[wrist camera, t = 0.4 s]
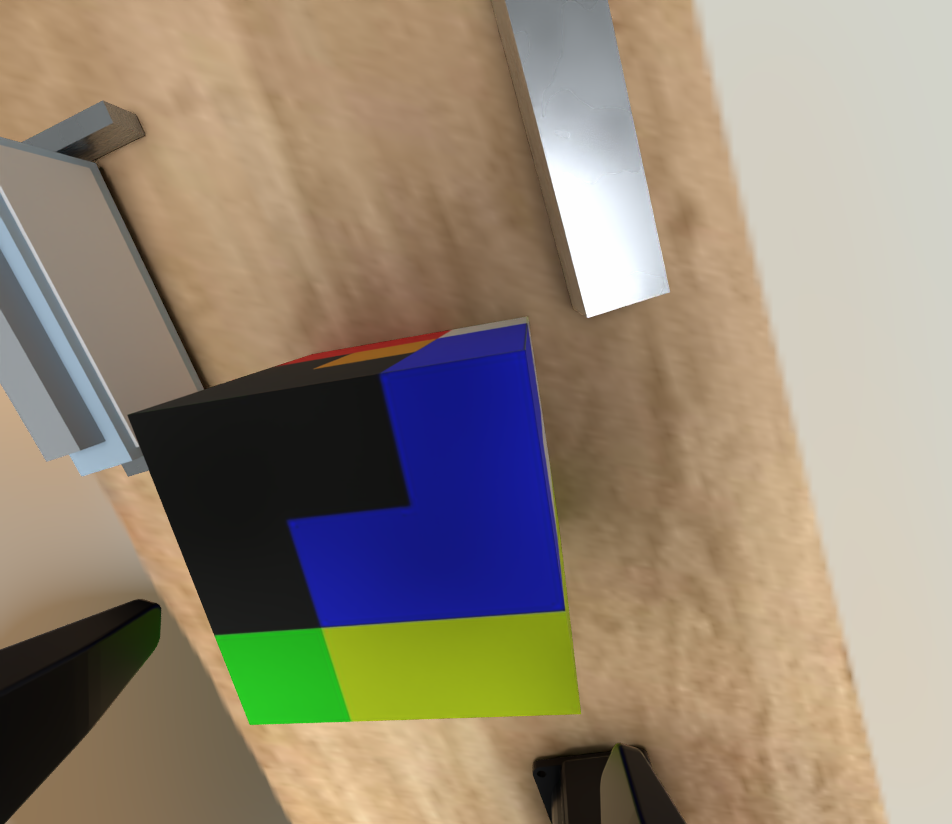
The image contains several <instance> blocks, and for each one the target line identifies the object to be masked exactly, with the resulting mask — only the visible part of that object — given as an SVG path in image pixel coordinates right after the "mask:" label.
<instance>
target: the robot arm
mask: <svg viewBox="0 0 952 824" xmlns="http://www.w3.org/2000/svg"><path fill="white" fill-rule="evenodd" d="M160 626H161V607H160V605H158V604H157V603H154V602H150V601H147V600H144V599H137V600H133V601H130V602H128V603H125V604H122V605H119V606H117V607H114V608H111V609H109V610H106V611H103V612H101V613H98V614H95V615H92V616H90V617H87V618H85V619H82V620H79V621H76V622H74V623H71V624H68V625H66V626H63V627H60V628H57V629H55V630H52V631H49V632H47V633H44V634H41V635H39V636H36V637H33V638H30V639H28V640H25V641H22V642H19V643H17V644H14V645H11V646H9V647H6V648H3V649H1V650H0V824H5V823H6V822H7V821H8V820H9V818H10V817H11V816H12V815H13V814H14V813H15V812H16V811H17V810H18V809H19V808H20V807H21V806H22V804H23V803H24V802H25V801H26V800H27V799H28V798H29V797H30V796H31V795H32V794H33V792H34V791H35V790H36V789H37V788H38V787H39V786H40V785H41V784H42V783H43V782H44V781H45V780H46V779H47V777H48V776H49V775H50V774H51V773H52V772H53V771H54V770H55V769H56V768H57V767H58V765H59V764H60V763H61V762H62V761H63V760H64V759H65V758H66V757H67V756H68V755H69V754H70V753H71V751H72V750H73V749H74V748H75V747H76V746H77V745H78V744H79V743H80V742H81V741H82V739H83V738H84V737H85V736H86V735H87V734H88V733H89V731H90V730H91V729H92V728H93V727H94V726H95V724H96V723H97V722H98V721H99V720H100V718H101V717H102V716H103V715H104V713H105V712H106V711H107V709H108V708H109V707H110V706H111V704H112V703H113V702H114V701H115V699H116V698H117V697H118V695H119V694H120V693H121V692H122V691H123V689H124V688H125V687H126V685H127V684H128V683H129V682H130V680H131V679H132V678H133V677H134V675H135V674H136V673H137V672H138V670H139V669H140V668H141V667H142V665H143V664H144V662H145V661H146V660H147V659H148V658H149V656H150V655H151V654H152V653H153V651H154V650H155V648H156V647H157V644H158V642H159V639H160ZM533 776H534V779H535V782H536V784H537V787H538V789H539V792H540V795H541V797H542V800H543V803H544V805H545V808H546V810H547V813H548V816H549V818H550V821H551V824H686V822H685V820H684V819H683V817H682V816H681V814H680V812H679V811H678V809H677V808H676V806H675V804H674V803H673V801H672V800H671V798H670V796H669V795H668V793H667V792H666V790H665V788H664V787H663V785H662V784H661V782H660V780H659V779H658V777H657V776H656V774H655V772H654V771H653V769H652V766H651V763H650V759H649V756H648V753H647V752H646V751H645V750H644V749H640V748H636V747H632V746H629V745H626V744H622V743H617V744H615V746H614V747H613V749H612V751H611V752H603V753H594V754H586V755H578V756H570V757H561V758H553V759H545V760H538V761H535V762H534V763H533Z"/></svg>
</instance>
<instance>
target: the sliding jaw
mask: <svg viewBox="0 0 952 824" xmlns="http://www.w3.org/2000/svg"><path fill="white" fill-rule="evenodd" d="M0 384H1V385H2V387H3V389H4V390H5V392H6V394H7V395H8V397H9V399H10V400H11V402H12V403H13V406H14V407H15V409H16V411H17V412H18V414H19V415H20V417H21V419H22V421H23V423H24V424H25V426H26V428H27V429H28V431H29V432H30V434H31V436H32V437H33V440H34V441H35V443H36V445H37V446H38V448H39V449H40V451H41V453H42V455H43V456H44V458H45V460H46V461H50V460H53V459H56V458H59V457H62V456H65V455H68V454H69V455H70V457H71V459H72V461H73V462H74V464H75V466H76V467H77V469H78V471H79V473H80V474H81V476H85V475H88V474H91V473H94V472H97V471H101V470H104V469H107V468H110V467H114V466H117V465H120V464H123V463H126V462H130V461H133V460H135V459H137V458H139V457H142V456H143V454H142V451H141V449H140V446H139V444H138V441H137V439H136V436H135V434H134V431H133V429H132V426H131V424H130V421H129V418H128V416H127V415H128V414H131V413H134V412H137V411H140V410H143V409H146V408H150V407H153V406H156V405H159V404H162V403H165V402H168V401H171V400H174V399H177V398H180V397H183V396H186V395H189V394H192V393H195V392H198V391H201V390H204V388H203V386H202V384H201V382H200V380H199V378H198V376H197V373H196V371H195V369H194V367H193V365H192V363H191V361H190V359H189V357H188V355H187V353H186V351H185V348H184V346H183V344H182V342H181V340H180V338H179V336H178V334H177V332H176V330H175V328H174V326H173V323H172V321H171V319H170V317H169V315H168V313H167V311H166V309H165V307H164V305H163V303H162V301H161V298H160V296H159V294H158V292H157V290H156V288H155V286H154V284H153V282H152V280H151V278H150V276H149V273H148V271H147V269H146V267H145V265H144V263H143V261H142V259H141V257H140V255H139V253H138V251H137V248H136V246H135V244H134V242H133V240H132V238H131V236H130V234H129V232H128V230H127V228H126V226H125V223H124V221H123V219H122V217H121V215H120V213H119V211H118V209H117V207H116V205H115V203H114V201H113V198H112V196H111V194H110V192H109V190H108V188H107V186H106V184H105V182H104V180H103V178H102V175H101V173H100V171H99V169H98V167H97V165H96V163H93V162H90V161H86V160H82V159H79V158H75V157H72V156H68V155H64V154H61V153H57V152H53V151H50V150H46V149H43V148H39V147H35V146H32V145H28V144H24V143H21V142H17V141H13V140H10V139H6V138H3V137H0Z"/></svg>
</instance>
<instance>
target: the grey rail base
mask: <svg viewBox="0 0 952 824" xmlns="http://www.w3.org/2000/svg"><path fill="white" fill-rule="evenodd" d="M491 3H492V7H493V10H494V14H495V18H496V22H497V25H498V29H499V33H500V37H501V40H502V44H503V48H504V52H505V55H506V59H507V63H508V67H509V70H510V74H511V78H512V82H513V86H514V89H515V93H516V97H517V101H518V104H519V108H520V112H521V116H522V119H523V123H524V127H525V131H526V134H527V138H528V142H529V146H530V149H531V153H532V157H533V161H534V164H535V168H536V172H537V176H538V179H539V183H540V187H541V191H542V194H543V198H544V202H545V206H546V209H547V213H548V217H549V221H550V224H551V228H552V232H553V236H554V239H555V243H556V247H557V251H558V254H559V258H560V262H561V266H562V269H563V273H564V277H565V281H566V284H567V288H568V292H569V296H570V300H571V303H572V307H573V309H574V310H576V311H577V312H579V313H580V314H582V315H584V316H585V317H587V318H589V317H592V316H595V315H598V314H601V313H605V312H608V311H611V310H614V309H617V308H621V307H624V306H627V305H630V304H633V303H637V302H640V301H643V300H646V299H649V298H653V297H656V296H659V295H662V294H666V293H669V292H670V290H669V285H668V281H667V276H666V271H665V267H664V262H663V257H662V252H661V248H660V243H659V238H658V234H657V229H656V224H655V220H654V215H653V210H652V206H651V201H650V196H649V192H648V187H647V182H646V178H645V173H644V168H643V164H642V159H641V154H640V150H639V145H638V140H637V135H636V131H635V126H634V121H633V117H632V112H631V107H630V103H629V98H628V93H627V89H626V84H625V79H624V75H623V70H622V65H621V61H620V56H619V51H618V47H617V42H616V37H615V32H614V28H613V23H612V18H611V14H610V9H609V4H608V0H491ZM144 135H145V134H144V132H143V130H142V127H141V125H140V123H139V121H138V118H137V116H136V114H133V113H131V112H129V111H126V110H124V109H122V108H119V107H117V106H114V105H112V104H110V103H107V102H105V101H101V102H99V103H97V104H95V105H93V106H91V107H89V108H87V109H85V110H83V111H82V112H80V113H78V114H76V115H74V116H72V117H70V118H68V119H66V120H64V121H62V122H60V123H58V124H56V125H54V126H52V127H50V128H49V129H47V130H45V131H43V132H41V133H39V134H37V135H35V136H33V137H31V138H29V139H27V140H25V141H23V142H21V143H24V144H28V145H32V146H35V147H39V148H43V149H46V150H50V151H53V152H57V153H61V154H64V155H68V156H72V157H75V158H79V159H82V160H86V161H92V160H95V159H97V158H99V157H101V156H103V155H105V154H107V153H109V152H111V151H113V150H115V149H117V148H119V147H121V146H123V145H125V144H128V143H130V142H132V141H134V140H136V139H138V138H140V137H142V136H144ZM121 465H122V466H123V468H124V470H125V472H126V474H127V476H128V477H129V476H132V475H135V474H139V473H142V472H145V471H148V470H149V469H148V466H147V464H146V461H145V459H144V456H142V457H139V458H137V459H135V460H133V461H130V462H126V463H123V464H121Z"/></svg>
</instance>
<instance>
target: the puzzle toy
mask: <svg viewBox="0 0 952 824" xmlns="http://www.w3.org/2000/svg"><path fill="white" fill-rule="evenodd" d="M127 416H128V418H129V421H130V424H131V426H132V429H133V431H134V434H135V436H136V439H137V441H138V444H139V446H140V449H141V451H142V454H143V456H144V459H145V461H146V464H147V466H148V469H149V472H150V474H151V477H152V479H153V482H154V484H155V487H156V489H157V492H158V494H159V497H160V499H161V502H162V504H163V507H164V509H165V512H166V514H167V517H168V519H169V522H170V525H171V527H172V530H173V532H174V535H175V537H176V540H177V542H178V545H179V547H180V550H181V552H182V555H183V557H184V560H185V562H186V565H187V567H188V570H189V573H190V575H191V578H192V580H193V583H194V585H195V588H196V590H197V593H198V595H199V598H200V600H201V603H202V605H203V608H204V610H205V613H206V615H207V618H208V620H209V623H210V626H211V628H212V631H213V633H214V636H215V638H216V641H217V643H218V646H219V648H220V651H221V653H222V656H223V658H224V661H225V663H226V666H227V668H228V671H229V673H230V676H231V679H232V681H233V684H234V686H235V689H236V691H237V694H238V696H239V699H240V701H241V704H242V706H243V709H244V711H245V714H246V716H247V719H248V721H249V724H250V725H259V724H290V723H321V722H352V721H383V720H414V719H445V718H476V717H508V716H539V715H570V714H581V709H580V700H579V692H578V683H577V675H576V666H575V658H574V649H573V641H572V632H571V624H570V615H569V606H568V598H567V589H566V581H565V572H564V564H563V555H562V547H561V538H560V530H559V522H558V515H557V508H556V502H555V495H554V488H553V481H552V475H551V468H550V461H549V454H548V448H547V441H546V434H545V427H544V421H543V414H542V407H541V400H540V394H539V387H538V380H537V374H536V367H535V360H534V353H533V347H532V340H531V333H530V326H529V320H528V316H527V317H521V318H516V319H510V320H504V321H498V322H493V323H487V324H481V325H476V326H470V327H464V328H459V329H453V330H447V331H442V332H436V333H430V334H424V335H419V336H413V337H407V338H402V339H396V340H390V341H385V342H379V343H373V344H368V345H362V346H356V347H351V348H345V349H339V350H333V351H328V352H322V353H316V354H311V355H308V356H305V357H302V358H299V359H296V360H293V361H290V362H287V363H284V364H281V365H278V366H275V367H272V368H269V369H266V370H263V371H260V372H256V373H253V374H250V375H247V376H244V377H241V378H238V379H235V380H232V381H229V382H226V383H223V384H220V385H217V386H214V387H211V388H208V389H205V390H201V391H198V392H195V393H192V394H189V395H186V396H183V397H180V398H177V399H174V400H171V401H168V402H165V403H162V404H159V405H156V406H153V407H150V408H146V409H143V410H140V411H137V412H134V413H131V414H128V415H127Z"/></svg>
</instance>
